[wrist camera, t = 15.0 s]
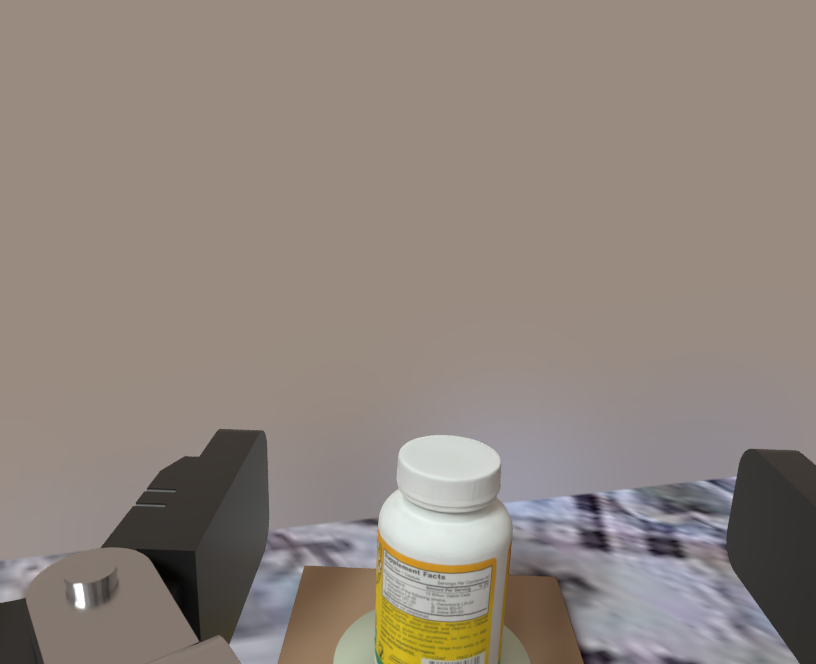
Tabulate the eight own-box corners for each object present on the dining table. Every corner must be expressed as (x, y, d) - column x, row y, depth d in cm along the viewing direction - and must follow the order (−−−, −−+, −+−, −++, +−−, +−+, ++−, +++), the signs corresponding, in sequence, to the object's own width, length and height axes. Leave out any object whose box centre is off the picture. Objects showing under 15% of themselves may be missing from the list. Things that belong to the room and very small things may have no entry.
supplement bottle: (452, 738, 25) (469, 504, 23) (346, 668, 28) (350, 457, 26) (523, 658, 30) (544, 453, 27) (423, 605, 33) (433, 417, 30)
